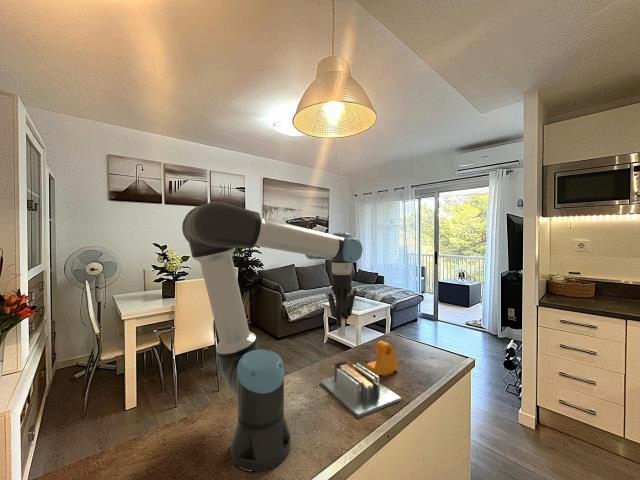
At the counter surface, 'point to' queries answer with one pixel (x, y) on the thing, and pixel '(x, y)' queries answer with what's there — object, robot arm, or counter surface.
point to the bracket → (383, 360)
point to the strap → (359, 376)
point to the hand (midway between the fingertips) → (341, 335)
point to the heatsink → (359, 390)
